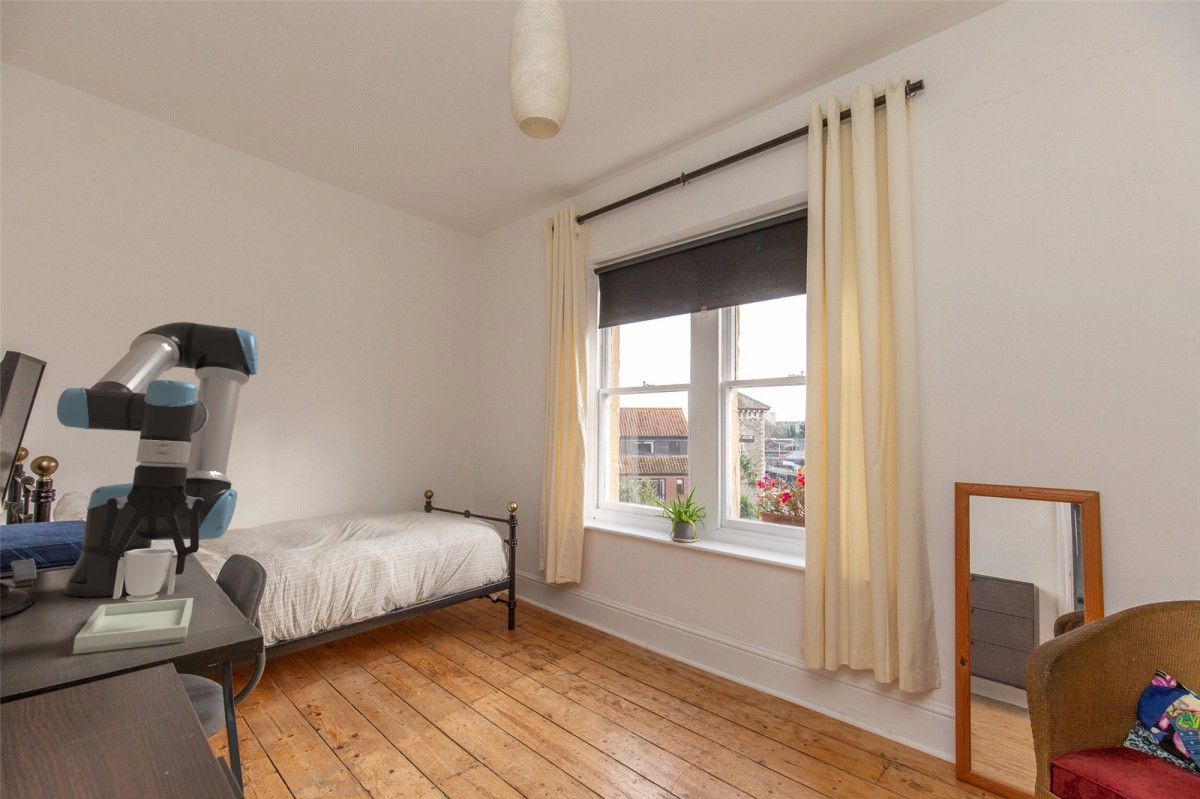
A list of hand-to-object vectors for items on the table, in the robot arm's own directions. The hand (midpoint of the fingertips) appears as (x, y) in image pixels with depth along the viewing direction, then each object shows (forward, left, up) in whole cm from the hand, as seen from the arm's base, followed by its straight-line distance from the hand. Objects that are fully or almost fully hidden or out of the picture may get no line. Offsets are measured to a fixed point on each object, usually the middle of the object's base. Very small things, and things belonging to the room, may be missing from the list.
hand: (144, 594), depth 98 cm
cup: (0, 0, 0) cm, 1 cm away
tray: (0, 0, -6) cm, 6 cm away
